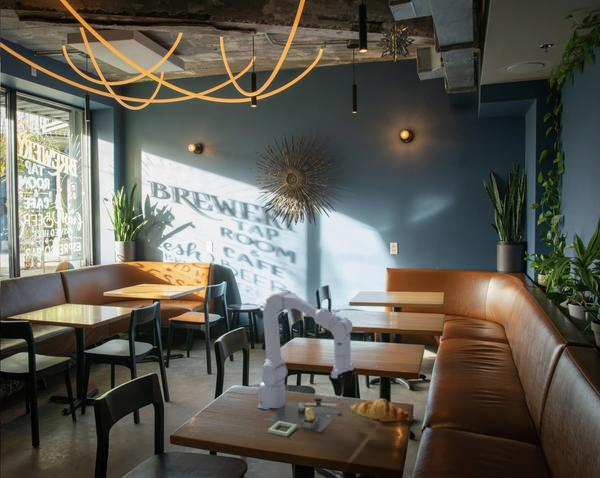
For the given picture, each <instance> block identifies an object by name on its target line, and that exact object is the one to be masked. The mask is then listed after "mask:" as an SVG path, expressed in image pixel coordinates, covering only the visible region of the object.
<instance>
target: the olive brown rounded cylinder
mask: <svg viewBox="0 0 600 478" xmlns="http://www.w3.org/2000/svg"><path fill="white" fill-rule="evenodd" d="M305 422H309V423H313V422H314V407H311V406H308V407H305Z"/></svg>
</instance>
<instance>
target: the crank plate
mask: <svg viewBox="0 0 600 478" xmlns="http://www.w3.org/2000/svg"><path fill="white" fill-rule="evenodd" d="M298 403H299V402H296V401H290V400H288V401H285V405H284V406H282V407H280V408H276V410H274V411H273V412H272V413H270V414H269V415H268V416H267V417H265V418H263V421H266V422H267V421H268V422H272V423H275V424H276V423H277V422H278V421H282V422H286V423H291V424H296V425H297V428H299V429H304V430H305V429H306V430H311V431H313V432H319V433H321V432H322V431H323V430H324V429H325V428H327V426H328V425H329V424H331V422H332V421H333V420H334V419H335V418H336V417H337V416H338V415H339V414H340V413H341V412H342V410H338V409H334V408H329V407H314V422H313V423H309V422H305V412H298Z"/></svg>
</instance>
